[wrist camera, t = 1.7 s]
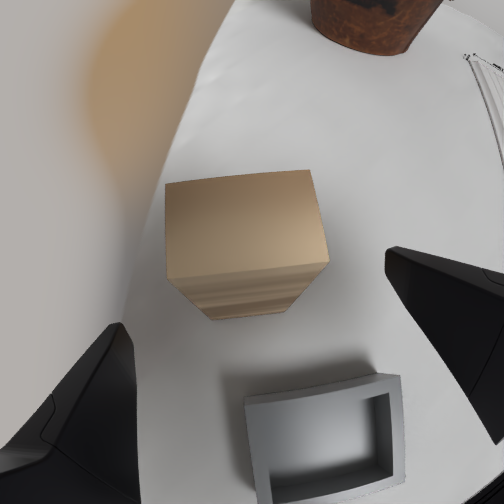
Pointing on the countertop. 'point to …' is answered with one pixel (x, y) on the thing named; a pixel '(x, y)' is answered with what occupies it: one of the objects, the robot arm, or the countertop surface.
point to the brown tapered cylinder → (373, 22)
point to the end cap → (327, 441)
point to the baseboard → (492, 98)
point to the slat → (244, 241)
